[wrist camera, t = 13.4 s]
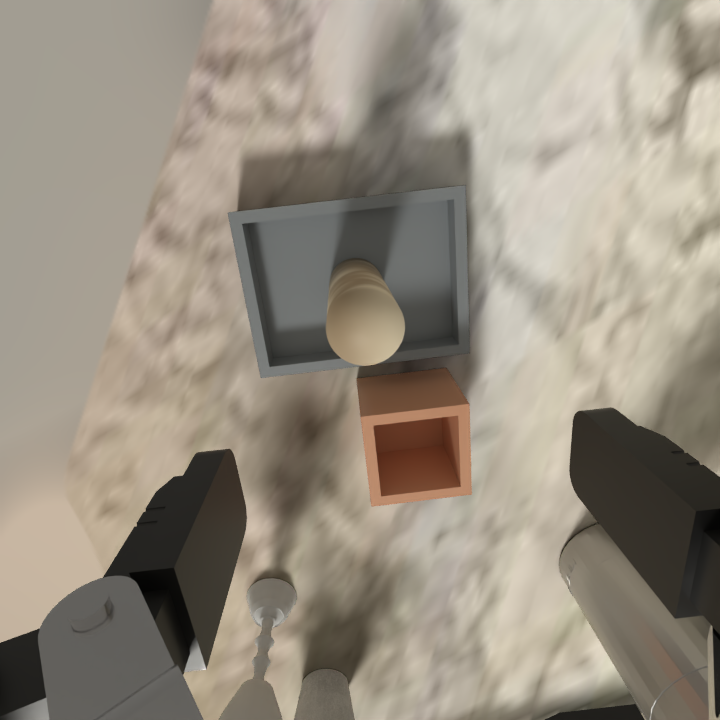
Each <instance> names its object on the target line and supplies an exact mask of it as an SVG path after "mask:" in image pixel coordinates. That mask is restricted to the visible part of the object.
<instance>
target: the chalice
mask: <svg viewBox="0 0 720 720" xmlns="http://www.w3.org/2000/svg"><path fill="white" fill-rule="evenodd" d="M296 600H297V596H296V592H295V590H294V588H293V587H292V586H291V585H290V584H289V583H287V582H285V581H283V580H281V579H275V578H268V579H262V580H260V581H257V582H256V583H254V584H253V585H251V587H250V588H249V590H248V592H247V602H248V604H249V610H250V614H251V617H252V619H253V620H254V622H255V623H256V624H257V625H259V626H261V627H262V631H261V634H260V636H258V637H257V638H256V639H255V644H256V646H257V647H258V653H257V655H256V657H254V659H253V660H252V664H253V666H254V677H253V679H250V680H248V681H246V682H244V683H243V684H242V685H241V687H240V688H239V690H238V691H237V692H236V694H235V695H234V697H233V698H232V700H231V701H230V702H229V704H228V705H227V707H226V708H225V710H224V711H223V713H222V714H221V716H220V718H219V720H282V716H281V712H280V709H279V706H278V703H277V700H276V697H275V694H274V690H273V687H272V686H271V684H269V683H268V682H267V681H264V675H265V672H266V669H267V668H268V667H269V665H270V660H269V658H268V651H269V649H270V648H271V647H272V646H273V645H274V640H273V638H272V637H271V630H272V628H274V627H277V626H278V625H280V624H281V623H283V622H284V621H285V620H286V618H287V617H288V615H289V613H290V612H291V609H292V608H293V606H294V605H295V603H296Z"/></svg>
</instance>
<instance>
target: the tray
mask: <svg viewBox="0 0 720 720" xmlns="http://www.w3.org/2000/svg"><path fill="white" fill-rule="evenodd" d="M228 217H229V222H230V227H231V232H232V237H233V242H234V247H235V252H236V257H237V262H238V267H239V272H240V277H241V282H242V287H243V292H244V297H245V302H246V307H247V312H248V317H249V322H250V327H251V332H252V337H253V342H254V347H255V352H256V357H257V362H258V367H259V371H260V376H261V378H266V377H274V376H283V375H291V374H299V373H308V372H316V371H325V370H333V369H342V368H350V367H358V366H362V365H355V364H352V363H349V362H347V361H345V360H343V359H342V358H341V357H339V356H338V355H337V354H336V353H335V352H334V350H333V349H332V348H331V346H330V344H329V341H328V339H327V334H326V321H327V308H328V295H329V282H330V277H331V274H332V272H333V270H334V269H335V268H336V266H337V265H339V264H340V263H341V262H343V261H345V260H347V259H351V258H361V259H364V260H367V261H369V262H371V263H372V264H373V265H374V266H375V267H376V268H377V269H378V271H379V273H380V274H381V276H382V278H383V280H384V281H385V283H386V285H387V287H388V288H389V290H390V292H391V294H392V295H393V297H394V299H395V301H396V302H397V304H398V306H399V307H400V309H401V311H402V314H403V317H404V321H405V332H404V337H403V340H402V342H401V344H400V346H399V348H398V349H397V350H396V352H395V353H394V354H393V355H392V356H390V357H389V358H388V359H386V360H385V361H383V362H380V363H378V364H384V363H392V362H400V361H409V360H417V359H426V358H434V357H443V356H451V355H459V354H468V353H470V345H469V304H468V263H467V221H466V185H462V186H452V187H443V188H435V189H426V190H417V191H409V192H400V193H391V194H383V195H374V196H365V197H357V198H348V199H339V200H331V201H322V202H313V203H305V204H296V205H287V206H279V207H270V208H261V209H253V210H244V211H236V212H229V213H228ZM374 365H375V364H374Z"/></svg>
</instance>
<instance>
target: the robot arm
mask: <svg viewBox="0 0 720 720" xmlns="http://www.w3.org/2000/svg"><path fill="white" fill-rule="evenodd" d="M570 478H571V482H572V486H573V488H574V490H575V492H576V494H577V496H578V497H579V498H580V500H581V501H582V502H583V504H584V505H585V506H586V507H587V509H588V510H589V511H590V512H591V514H592V515H593V516H594V517H595V519H596V520H597V521H598V522H599V524H596V525H593V526H591V527H589V528H587V529H585V530H583V531H582V532H580V533H579V534H577V535H576V536H575V537H574V538H573V539H572V540H570V541H569V543H568V544H567V545H566V547H565V548H564V550H563V552H562V554H561V557H560V562H559V568H560V573H561V576H562V578H563V580H564V581H565V583H566V585H567V586H568V589H569V590H570V592H571V594H572V596H573V597H574V598H575V600H576V602H577V603H578V605H579V607H580V608H581V610H582V612H583V614H584V615H585V617H586V619H587V620H588V622H589V624H590V625H591V627H592V629H593V631H594V632H595V634H596V636H597V637H598V639H599V641H600V642H601V644H602V646H603V647H604V649H605V651H606V652H607V654H608V656H609V657H610V659H611V661H612V663H613V664H614V666H615V668H616V669H617V671H618V673H619V674H620V676H621V678H622V679H623V681H624V683H625V684H626V686H627V688H628V689H629V691H630V693H631V695H632V696H633V698H634V700H635V701H636V703H637V705H638V706H639V708H640V710H641V711H642V713H643V715H644V716H645V718H646V720H720V477H719V476H718V475H716V474H715V473H714V472H712V471H711V470H710V469H708V468H707V467H706V466H704V465H700V464H699V461H697V460H696V459H695V458H693V457H692V456H691V455H689V454H688V453H684V450H683V449H681V448H680V447H679V446H677V445H676V444H674V443H673V442H672V441H670V440H669V439H668V438H666V437H665V436H663V435H660V434H658V433H656V432H653V431H651V430H648V429H646V428H644V427H641V426H637V425H635V424H634V423H633V422H632V421H630V420H629V419H628V418H626V417H625V416H624V415H622V414H621V413H620V412H619V411H617V410H616V409H614V408H603V409H594V410H585V411H578V412H577V413H576V414H575V416H574V419H573V428H572V442H571V455H570ZM246 521H247V515H246V505H245V500H244V496H243V491H242V487H241V483H240V478H239V474H238V470H237V465H236V461H235V457H234V454H233V452H232V451H231V450H230V449H224V450H215V451H206V452H198V453H196V454H195V455H194V457H193V459H192V461H191V463H190V464H189V466H188V468H187V470H186V471H185V473H184V475H183V476H176V477H173V478H172V479H171V480H170V481H168V482H167V483H166V484H165V485H164V486H163V487H161V488H160V489H159V490H158V491H157V492H156V493H155V495H154V496H153V498H152V499H151V501H150V503H149V504H148V506H147V507H146V512H143V514H142V516H141V517H140V519H139V520H138V522H137V527H134V528H133V530H132V532H131V533H130V535H129V536H128V538H127V540H126V541H125V543H124V545H123V546H122V548H121V549H120V551H119V553H118V554H117V556H116V557H115V559H114V561H113V562H112V564H111V565H110V567H109V569H108V570H107V572H106V573H105V575H104V577H103V578H100V579H97V580H95V581H92V582H90V583H88V584H85V585H84V586H81V587H80V588H78V589H76V590H75V591H73V592H72V593H70V594H69V595H67V596H66V597H65V598H64V599H62V600H61V601H60V602H59V603H58V604H57V605H56V606H55V607H54V608H53V609H52V610H51V611H50V613H49V614H48V615H47V617H46V618H45V620H44V621H43V623H42V625H41V627H40V629H37V630H35V631H32V632H29V633H27V634H23V635H21V636H18V637H15V638H12V639H10V640H7V641H4V642H1V643H0V720H203V717H202V715H201V713H200V711H199V709H198V707H197V705H196V702H195V700H194V698H193V696H192V694H191V692H190V689H189V687H188V685H187V683H186V681H185V679H184V677H183V674H184V672H189V671H198V670H206V669H207V666H208V662H209V659H210V655H211V651H212V648H213V644H214V641H215V637H216V634H217V630H218V627H219V623H220V620H221V616H222V612H223V609H224V605H225V602H226V598H227V595H228V591H229V588H230V584H231V581H232V577H233V573H234V570H235V566H236V563H237V559H238V556H239V552H240V549H241V545H242V542H243V538H244V534H245V530H246ZM545 720H644V718H643V716H642V715H641V713H640V711H639V710H638V708H637V706H636V704H633V705H624V706H615V707H606V708H598V709H589V710H580V711H571V712H562V713H558V714H556V715H554V716H552V717H550V718H547V719H545Z"/></svg>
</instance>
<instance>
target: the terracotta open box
mask: <svg viewBox="0 0 720 720" xmlns="http://www.w3.org/2000/svg"><path fill="white" fill-rule="evenodd" d="M357 387H358V396H359V405H360V414H361V423H362V431H363V440H364V448H365V456H366V464H367V473H368V481H369V489H370V498H371V506H380V505H389V504H397V503H405V502H413V501H422V500H430V499H438V498H446V497H455V496H463V495H471V494H472V488H471V449H470V409H469V403H468V401H467V399H466V398H465V396H464V395H463V393H462V392H461V390H460V388H459V387H458V385H457V384H456V382H455V381H454V379H453V378H452V376H451V374H450V373H449V371H448V370H447V368H440V369H431V370H423V371H414V372H406V373H398V374H389V375H381V376H372V377H364V378H357Z"/></svg>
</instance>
